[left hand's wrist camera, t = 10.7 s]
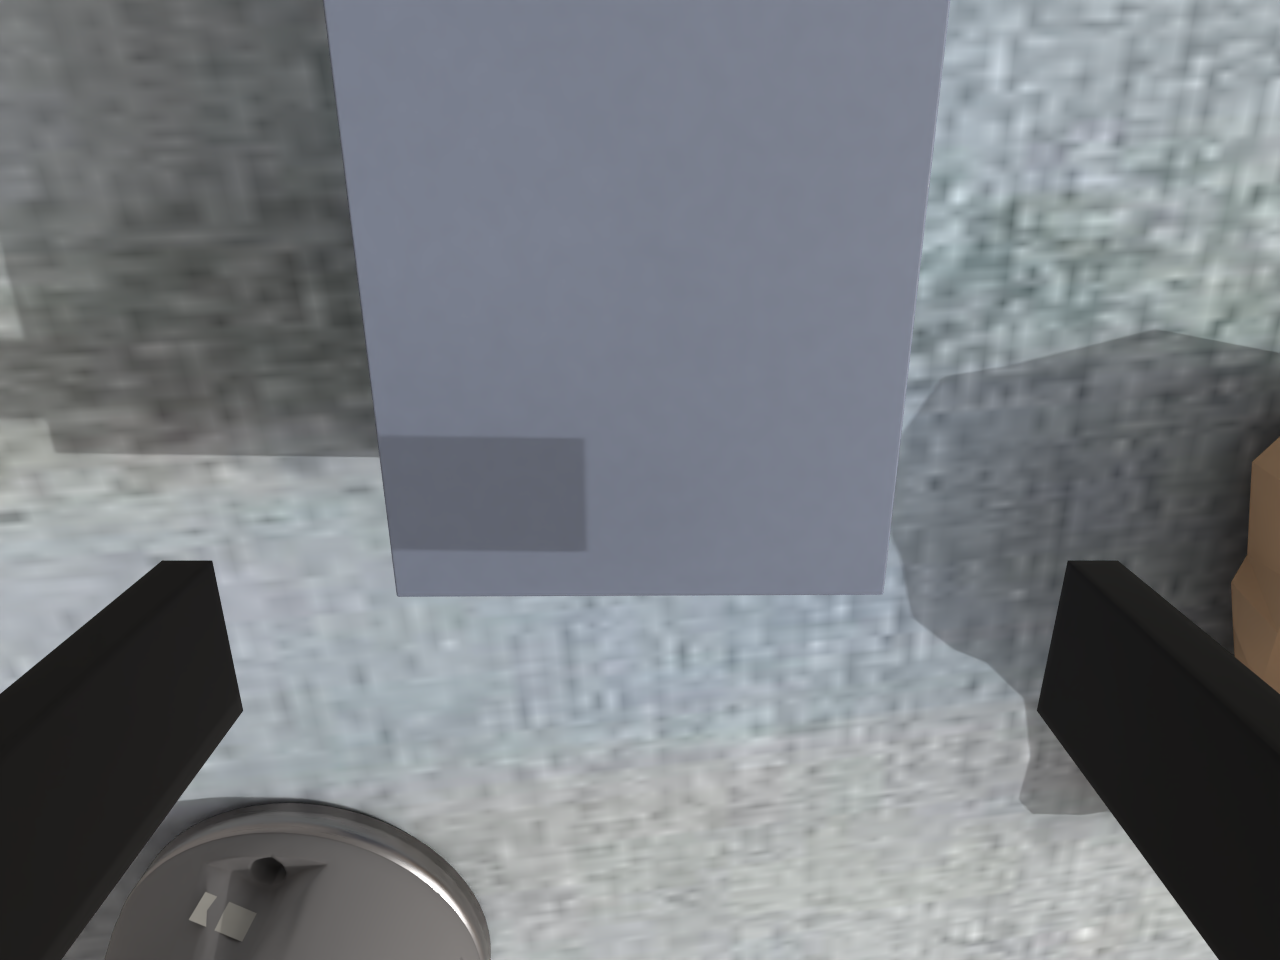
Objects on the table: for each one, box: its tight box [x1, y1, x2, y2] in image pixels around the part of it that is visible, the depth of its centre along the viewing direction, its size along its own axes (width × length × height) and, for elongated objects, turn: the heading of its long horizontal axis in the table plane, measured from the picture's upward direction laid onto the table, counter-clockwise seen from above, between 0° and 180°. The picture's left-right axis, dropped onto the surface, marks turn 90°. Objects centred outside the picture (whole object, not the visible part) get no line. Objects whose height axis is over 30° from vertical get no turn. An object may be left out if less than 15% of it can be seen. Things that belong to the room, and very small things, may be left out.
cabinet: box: [323, 0, 950, 597], centre depth 21 cm, size 17×11×10 cm
